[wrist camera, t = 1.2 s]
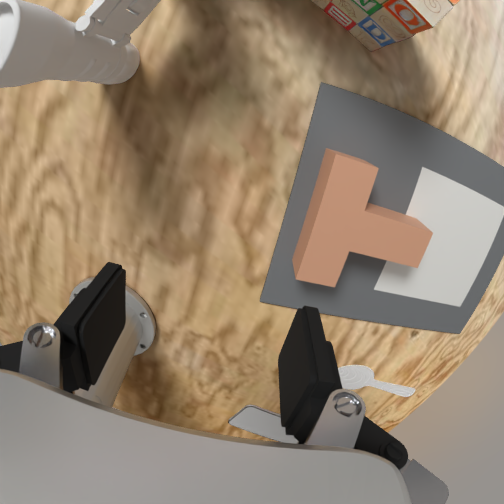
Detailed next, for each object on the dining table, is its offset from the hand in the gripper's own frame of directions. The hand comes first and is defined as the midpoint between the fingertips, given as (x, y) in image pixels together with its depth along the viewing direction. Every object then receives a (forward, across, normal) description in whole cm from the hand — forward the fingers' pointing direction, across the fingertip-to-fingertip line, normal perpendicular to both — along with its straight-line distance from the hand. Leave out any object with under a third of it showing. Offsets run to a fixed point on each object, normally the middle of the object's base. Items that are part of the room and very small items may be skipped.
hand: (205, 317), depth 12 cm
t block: (+19, -13, 0) cm, 23 cm away
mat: (+20, -20, 0) cm, 28 cm away
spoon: (+20, -27, +24) cm, 41 cm away
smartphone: (+20, -14, +38) cm, 45 cm away
